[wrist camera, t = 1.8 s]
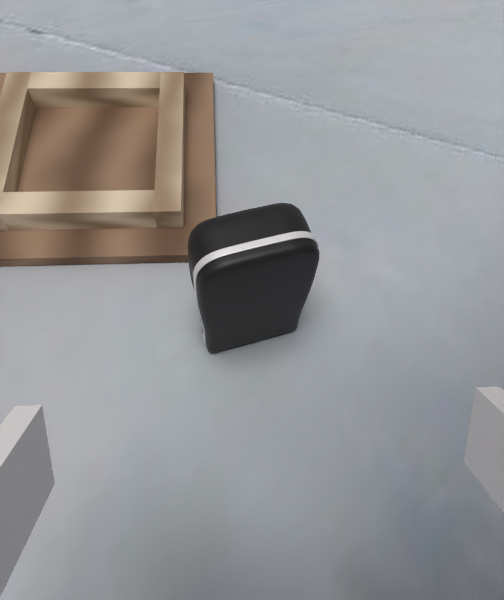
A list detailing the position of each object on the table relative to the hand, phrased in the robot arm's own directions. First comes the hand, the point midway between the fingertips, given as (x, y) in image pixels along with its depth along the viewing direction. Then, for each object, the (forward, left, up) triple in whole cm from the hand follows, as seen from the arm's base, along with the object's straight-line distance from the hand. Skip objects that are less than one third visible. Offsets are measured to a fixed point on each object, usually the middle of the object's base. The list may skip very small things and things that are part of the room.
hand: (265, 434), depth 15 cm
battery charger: (0, -11, -17) cm, 20 cm away
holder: (+12, -26, -16) cm, 33 cm away
